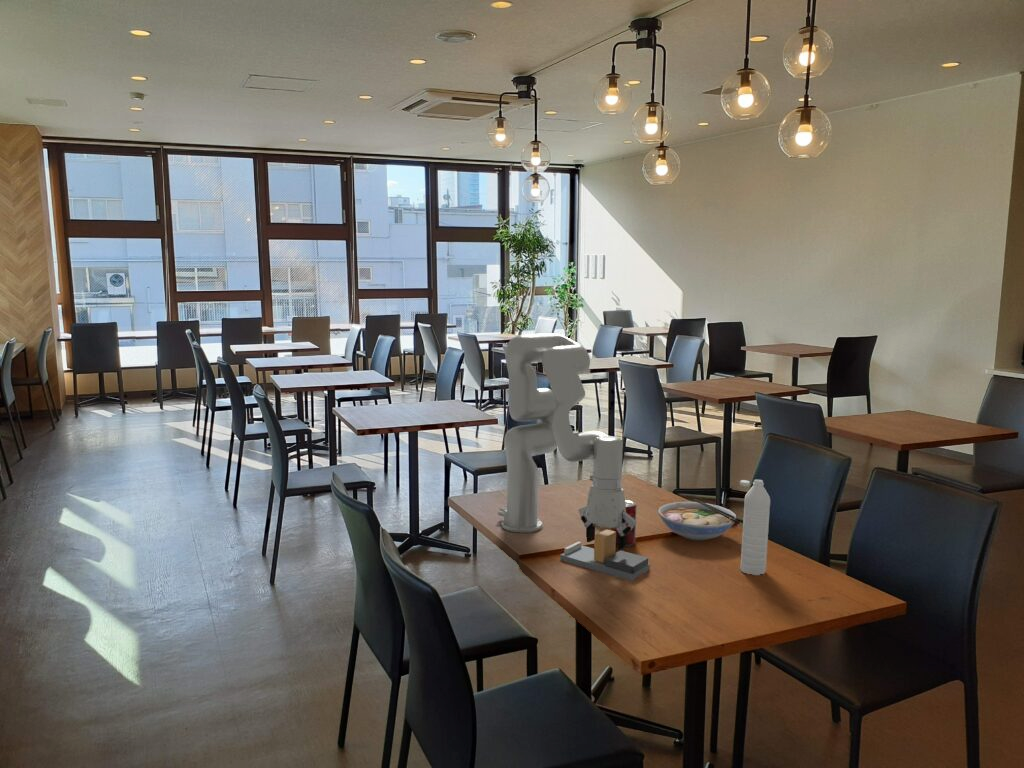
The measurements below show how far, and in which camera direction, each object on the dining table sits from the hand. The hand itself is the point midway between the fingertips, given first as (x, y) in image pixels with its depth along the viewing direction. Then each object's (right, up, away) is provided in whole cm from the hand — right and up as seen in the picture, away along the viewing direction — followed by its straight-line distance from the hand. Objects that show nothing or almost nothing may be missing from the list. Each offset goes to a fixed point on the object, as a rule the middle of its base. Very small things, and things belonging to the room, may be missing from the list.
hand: (605, 544), depth 209 cm
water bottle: (+38, -7, -2) cm, 39 cm away
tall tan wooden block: (+3, -4, -2) cm, 6 cm away
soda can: (+7, -3, +18) cm, 20 cm away
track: (0, -6, +1) cm, 6 cm away
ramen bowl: (+30, -3, +24) cm, 38 cm away
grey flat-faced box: (+5, -5, -3) cm, 8 cm away
